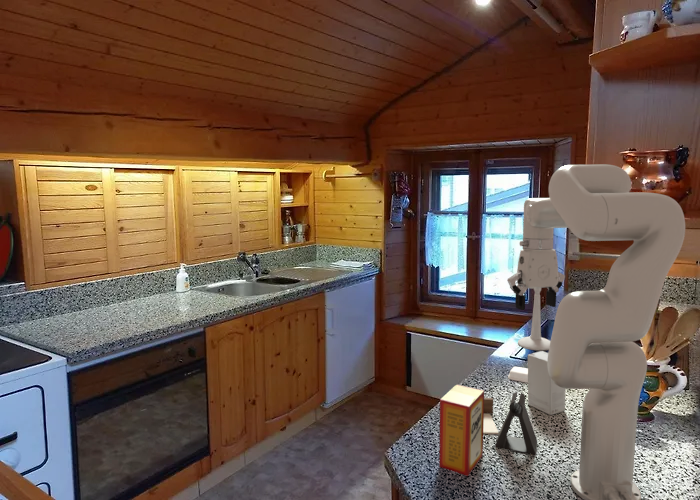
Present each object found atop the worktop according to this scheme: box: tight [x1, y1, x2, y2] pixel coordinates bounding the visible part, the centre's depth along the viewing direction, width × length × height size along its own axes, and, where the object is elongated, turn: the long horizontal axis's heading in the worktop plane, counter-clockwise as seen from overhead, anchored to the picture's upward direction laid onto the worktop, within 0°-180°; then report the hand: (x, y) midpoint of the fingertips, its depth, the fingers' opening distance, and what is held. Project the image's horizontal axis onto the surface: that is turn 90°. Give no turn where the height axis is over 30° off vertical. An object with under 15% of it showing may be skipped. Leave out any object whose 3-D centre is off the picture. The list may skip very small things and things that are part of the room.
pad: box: [483, 413, 500, 435], centre depth 127 cm, size 10×7×1 cm
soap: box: [507, 366, 528, 384], centre depth 157 cm, size 9×7×3 cm
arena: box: [484, 397, 494, 414], centre depth 128 cm, size 13×10×4 cm
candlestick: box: [517, 288, 551, 352], centre depth 186 cm, size 13×13×30 cm
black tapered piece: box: [494, 391, 538, 456], centre depth 116 cm, size 9×6×12 cm, turn 65°
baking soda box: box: [438, 384, 485, 477], centre depth 110 cm, size 10×6×16 cm
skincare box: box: [527, 350, 566, 416], centre depth 135 cm, size 8×6×15 cm
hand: (535, 307), depth 134 cm, fingers open, 9 cm apart
